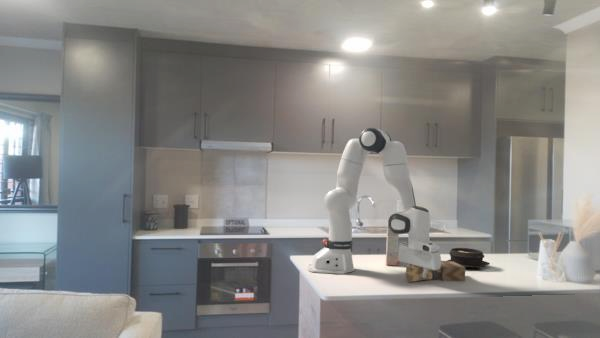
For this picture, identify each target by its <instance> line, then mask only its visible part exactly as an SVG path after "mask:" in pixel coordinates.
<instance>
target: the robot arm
mask: <svg viewBox="0 0 600 338" xmlns="http://www.w3.org/2000/svg"><path fill="white" fill-rule="evenodd" d="M344 147H345V148H344V149H343V153H342V154H341V158H340V161H339V165H338V168H337V172H336V177H337V178H336V187H335V188H334V189H331V190H330V191H329V192H327V193H326V194H325V196H324V198H323V200H324V201H323V203H324V206H325V207H326V214H327V218H328V219H327V220H328V239H323V240H322V243H323V245H324V247H323V248H322V249H320V250H318V251H317V252H316V253H315V254H314V255H313V257H312V261H311V262H312V263H310V264H308V265H307V270H308V271H309V272H312V273H319V274H323V273H324V274H339V275H344V274H347V273H351V272H354V271H355V266H354V262H353V251H354V250H353V249H354V248H353V247H354V246H353V245H354V244H353V239H352V238H353V237H352V236H353V234H352V233H353V223H352V221H351V215H350V210H351V209H352V208H354V206H355V205H356V203H357V194H358V188H359V181H360V178H361V175H362V171H363V169H364V164H365V162H366V158H367V156H368V154H379V155H380V157H381V159H382V166H383V167H382V169H383V175H384V178H385V180H386V182H387V183H388V184H389V185H390V186H392V187H394V188H395V189H396V191H397V192H398V194H399V197H400V202H401V207H402V211H399V212H395V213H393V214H391V215H390V216H389V217H388V221H387V222H388V226H389V229H390V230H391V231H392V232H393V233H395V234H399V235H404V234H407V235H408V241H405V240H404V241H403V240H402V241H400V242H398V256H397V259H398V262H399V263H403V264H406V267H407V266H419V267H423V270H424V272H423V273H421V278H426V274H427V272H428V271H429V269H431V270H439V269H440V267H441V261H442V256H441V254H440V250H441V247H440V245H438V244H437V243H434V242H433V241H432V240H431V241H430V239H431V238H430V230H431V215H430V211H429V209H427V208H425V207H422V206H418V205H416V199H415V194H414V187H413V184H412V180H411V177H410V171H409V170H410V169H409V162H408V161H409V160H408V155H407V151H406V149H405V145H404V144H403V143H402V142H401V141H397V140H393V141H392V138H391V136H390V135H389V133H387V132H386V131H384V130H382V129H378V128H375V127H367V128H365V129H364V130H363V131H361V133H360V135H359V138H357V137H356V138H351V139H349V140H348V141H347V143H346V145H345V146H344Z"/></svg>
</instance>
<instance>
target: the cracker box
mask: <svg viewBox="0 0 600 338" xmlns="http://www.w3.org/2000/svg"><path fill="white" fill-rule="evenodd" d="M399 235H400V234H395V233H393V232H392V231H391V230H390V229H389V226H388V221H387V223H386V245H385V248H386V252H385V254H386V255H385V256H386V257H385V262H386V266H392V267H393V266H394V267H397V266H398V262H399V261H398V259H397V256H398V250H399Z"/></svg>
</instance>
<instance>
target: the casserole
mask: <svg viewBox="0 0 600 338" xmlns="http://www.w3.org/2000/svg"><path fill="white" fill-rule="evenodd" d="M448 254H449V256H450V258H449V259H448V260H446V261H453V262H456V263H458V264H460V265H462V266H464V267H465V270H474V269H475V270H476V269H479V268H484V267H486V266H489V265H490V264H491V263H490V262H489V261H485V260H483V259H484V258H485V255H484V252H483V251H482V250H480V249H475V248H467V247H453V248H451V249H450V251H449V253H448Z"/></svg>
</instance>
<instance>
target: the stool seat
mask: <svg viewBox="0 0 600 338" xmlns="http://www.w3.org/2000/svg"><path fill="white" fill-rule="evenodd" d="M431 280H434V281H437V280H439V281H440V280H441V281H442V282H445V281H446V282H447V281H449V282H451V281H452V282H455V281H456V282H457V281H458V282H465V281H466V269H465V267H464V266H462V265H460V264H458V263H456V262H453V261H447V260H445V261H444V260H443V261H442V260H441V267H440V269H439V270H432V279H431Z"/></svg>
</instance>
